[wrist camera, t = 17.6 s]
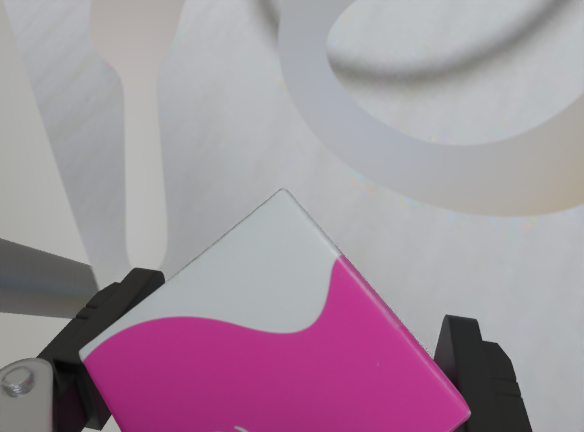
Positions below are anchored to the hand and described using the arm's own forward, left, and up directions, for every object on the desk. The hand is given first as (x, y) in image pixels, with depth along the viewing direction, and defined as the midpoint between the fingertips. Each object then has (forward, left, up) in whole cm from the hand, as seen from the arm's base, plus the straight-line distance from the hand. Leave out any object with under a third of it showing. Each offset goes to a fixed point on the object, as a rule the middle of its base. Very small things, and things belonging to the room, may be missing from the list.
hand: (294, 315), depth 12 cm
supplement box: (-1, -1, -8) cm, 8 cm away
